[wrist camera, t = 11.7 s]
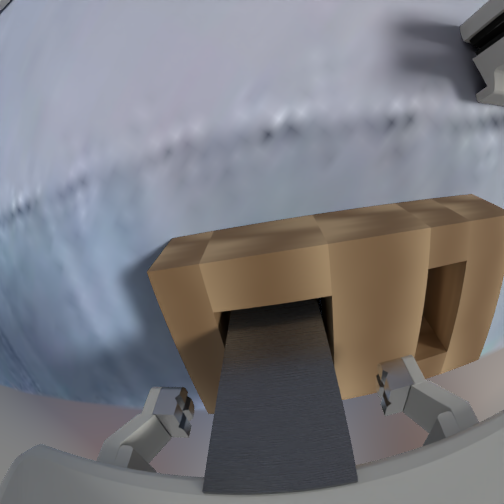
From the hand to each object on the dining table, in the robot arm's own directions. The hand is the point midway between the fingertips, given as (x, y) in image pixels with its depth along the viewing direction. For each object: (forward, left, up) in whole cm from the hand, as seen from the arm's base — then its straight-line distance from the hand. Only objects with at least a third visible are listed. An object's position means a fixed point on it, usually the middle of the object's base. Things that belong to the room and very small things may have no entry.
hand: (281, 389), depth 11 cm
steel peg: (0, 0, -7) cm, 7 cm away
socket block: (+3, +2, -7) cm, 8 cm away
